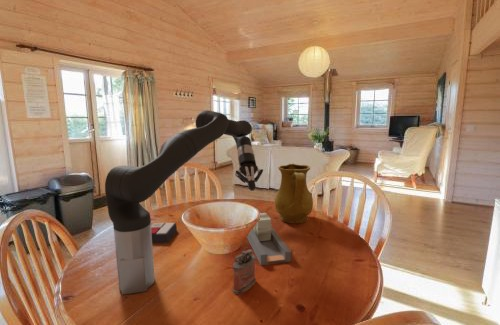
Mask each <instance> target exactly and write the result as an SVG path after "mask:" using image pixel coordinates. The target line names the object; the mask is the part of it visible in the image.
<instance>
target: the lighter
mask: <svg viewBox="0 0 500 325" xmlns="http://www.w3.org/2000/svg"><path fill="white" fill-rule="evenodd" d="M256 258H257V257H256V255H255V254H253V249H247V250H242V251H241V253H240V254H238V255H236V256H235V257H234V263H233V264H232V271H233V273H232V276H233V287H232V293H234V294H236V295H241V294H243V293H245V292H246V291H248V290H249V289H251V288H252V287H253V286H254V285H255V283H257V282H256V280H257V278H256V268H255V267H256V260H257V259H256Z"/></svg>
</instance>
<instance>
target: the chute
mask: <svg viewBox="0 0 500 325" xmlns="http://www.w3.org/2000/svg"><path fill="white" fill-rule="evenodd" d="M246 238H247V241H248V243H249V244H250V246H251V248H252V249H251V250H252V252H253V253H254V256H255V257H256V258H257V259H256V260H258V263H259V265H260V266H268V265H274V264H282V263H291V261H292V251H291V248H289V247H288V246H287V244H286V243H285V242H284V240H283V239H282V237H281V236H280V235H279V234H278V232H277V231H276V230H275V229H274V227H273V226H272V225H271V240H268V241H259V240H258V238H257V236H256V234H255V233H254V231H253V229H251V231H250V232H249V234H248V236H246Z"/></svg>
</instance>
